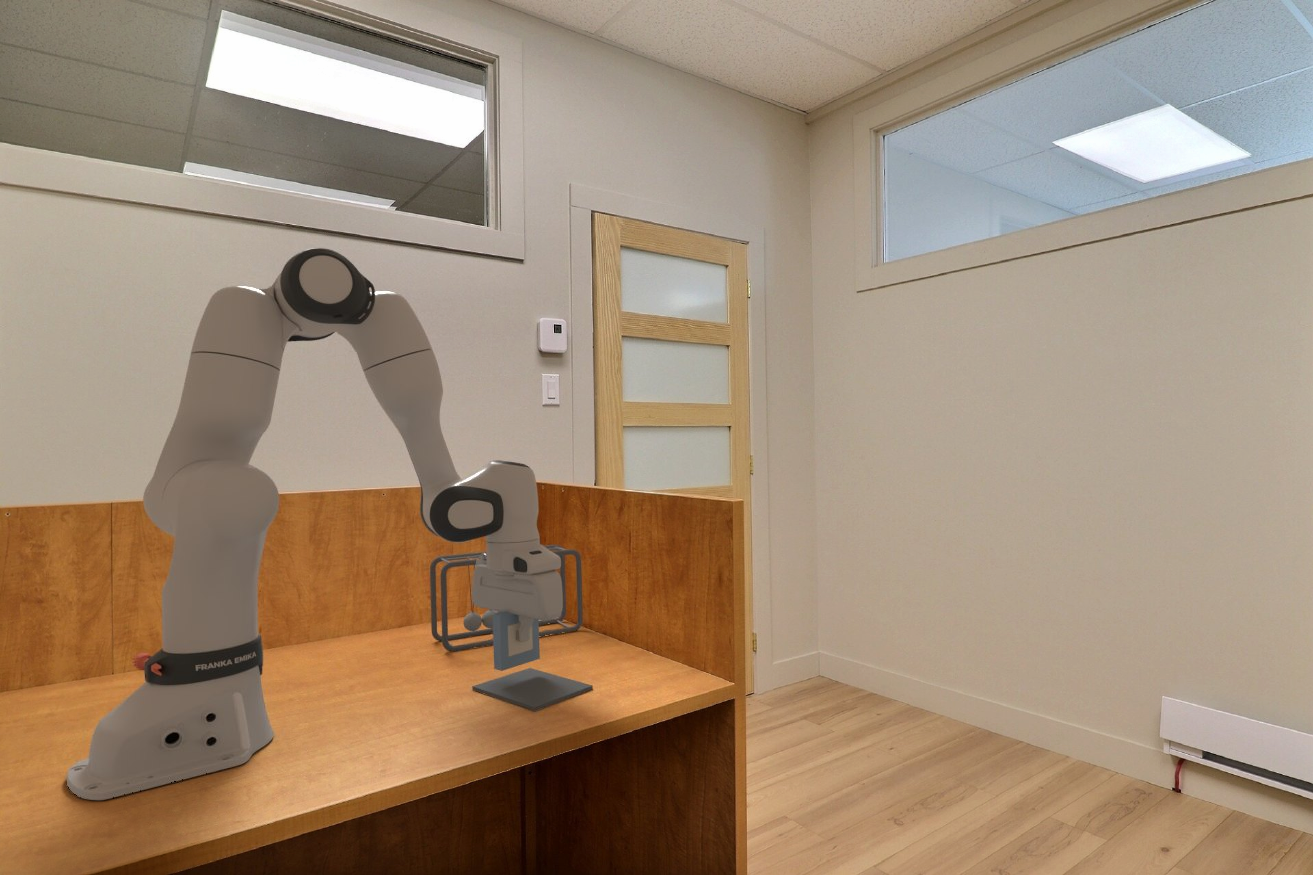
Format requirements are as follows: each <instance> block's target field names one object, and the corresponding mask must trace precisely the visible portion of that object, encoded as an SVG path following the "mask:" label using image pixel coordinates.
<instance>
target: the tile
mask: <svg viewBox="0 0 1313 875" xmlns="http://www.w3.org/2000/svg"><path fill="white" fill-rule="evenodd" d="M492 619H493V633H492V640H493V645H492V646H493V669H494V670H495V671H496V670H497V671H501V672H503V671H506V670H509V669H512V668H515V667H518V666H521V665H522V666H523V665H525V664H527V663H530V662H534V661H537V660H540V659H541V656H540V655H541V654H540V653H541V652H540V651H541V650H540V648H541V647H540V637H539V632H540V626H539V621H540V620H538V619H534V621H533V624H532V626H531V628H530V630H529V633H530V639H529V640H528V641H526V642H520V641H517V640H516V631H517V630H519V628H520V624H521V622H519V615H514V614H511V613H508V612H504V611H503V612H499V613H495V614H492Z"/></svg>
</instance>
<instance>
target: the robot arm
mask: <svg viewBox="0 0 1313 875" xmlns="http://www.w3.org/2000/svg"><path fill="white" fill-rule="evenodd" d="M335 333H336V334H338V335H339V336H341V337H342V338H344V339H345V341H347V342H348V343H349V344H350V345H351V346H352V348H353V350H354V352H355V353H356V355H357V358H358V361H359V363H360V367H361V369H362V371H363V374H364V376H365V379H366V381H367V383H368V385H369V388H370V390H371V391H372V393H373V395H374V397H375V398H376V401H377V402H378V403H379V406H381V408H382V410H383V411H384V412H385V414H386V416H387V417H388V419H389V420H390V421H391V422H392V424H393V426H394V427H395V428H396V429H397V432H398V433H399V434H400V436H401V438H402V440H403V441H404V444H405V447H406V449H407V452H408V455H409V458H410V460H411V462H412V464H413V465H412V466H413V468H414V471H415V472H416V476H417V479H418V481H419V486H420V491H421V492H420V503H419V511H420V512H419V513H420V518H421V521H422V524H423V525H424V527H425V528H426V529H427V530H428V531H429V532H430V533H431V534H433V535H435V536H437V537H439V538H441V539H442V540H445V541H447V542H450V543H456V544H458V543H460V544H462V543H467V542H470V541H472V540H476V539H481V538H483V537H485V541H486V542H485V543H486V544H485V546H486V549H485V552H486V553H483V554H481V555H480V556H479V557H478V558H476V559H477V560H476V565H475V569H474V568H473V573H472V584H471V600H472V604H473V603H474V607H477V608H482V609H487V610H494V611H496V612H497V613H499V612H503V611H504V612H508V613H511V614H514V615H519V622H521V624H520V628H519V630H517V631H516V640H517V641H520V642H526V641H528V640H529V639H530V633H529V630H530V628H531V626H532V624H533V621H534V619H538V620H539V621H542V620H543V621H546V620H550V619H555V618H558V617H560V615H561V612H562V609H563V593H562V581H561V577H560V572H559V571H557V570H560V567H561V558H560V556H558V555H557V554H555V553H553V552H551V551H552V550H548V549H547V548H545V547H544V546H545V545H543V544H541V542H540V533H539V530H538V526H537V525H538V524H537V522H538V517H539V511H540V510H539V495H538V487H537V486H538V485H537V480H536V474H535V473H534V470H533V469H532V468H531V467H530V466H528V465H527V464H524V463H520V462H517V461H516V462H515V461H514V462H513V461H510V460H509V461H507V460H501V459H500V460H498V459H497V460H496V459H495V460H491V461H488V463H487V464H486V465H484V466H483V467H482V468H480V469H478V470H476V471H475V472H473V473H472V474H470V475H468V476H466V477H464V478H461V477H460V475H459V474H458V472H457V471H456V468H455V465H454V463H453V459H452V458H451V453H450V451H449V449H448V446H447V443H446V441H445V438H444V435H443V431H442V425H441V421H440V420H441V418H440V417H441V415H440V414H441V406H442V401H443V395H444V388H443V381H442V377H441V371H440V368H439V367H440V366H439V364H438V361H437V358H436V355H435V352H434V350H433V347H432V345H431V342H430V340H429V338H428V336H427V333H426V331H425V330H424V327H423V325H422V323H421V322H420V320H419V317H418V316H417V314H416V313H415V311H414V309H413V307H412V306H411V305H410V303H409V302H408V300H407V299H406V298H405V297H403V296H402V295H401V294H399V293H398V292H393V291H387V290H383V291H379V290H378V291H376V290H375V286H374V284H373V283H372V282H371V281H370V280H368V278H366V277H365V276H364V275H363V274H362V273H361V272H360V271H359V269H358V268H357V267H356V266H355V265H354V263H352V262H351V261H350V260H349V258H347V257H346V256H344V255H342V254H341V253H339V252H338V251H335V250H332V249H330V248H325V247H324V248H323V247H315V248H307V249H305V250H302V251H301V252H298V253H297V254H295V255H293V256H292V257H291V258H289V260H287V262H286V263H285V264H284V266H283V268H282V270H281V271H280V273H279V275H277V277H276V279H275V281H274V282H273V283H272V285H271V286H269V287H266V288H259V289H258V288H255V287H251V286H245V285H231V286H225V287H223V288H220V289H218V290H217V291H216V292H214V293H213V294H212V295H211V297H210V299H209V301H208V303H207V305H206V307H205V309H204V311H203V314H202V316H201V319H200V321H199V324H198V327H197V329H196V332H195V336H194V339H193V342H192V347H191V351H190V356H189V360H188V365H187V370H186V374H185V379H184V383H183V388H182V392H181V397H180V403H179V404H178V410H177V412H176V415H175V418H174V420H173V424H172V427H171V428H170V431H169V433H168V436H167V438H166V440H165V443H164V444H163V448H162V451H161V453H160V455H159V458H158V461H157V464H156V466H155V470H154V473H153V476H152V477H151V479H150V481H149V482H148V484H147V485H146V486H145V489H144V492H143V497H142V504H143V508H144V511H145V513H146V515H147V517H148V518H149V520H150V521H151V522H152V523H153V524H154V525H155V526H156V528H158V529H159V530H160V531H162V532H164V533H165V534H168V535H170V536H173V537H174V539H173V540H174V541H173V542H174V543H173V550H172V555H171V561H170V564H169V570H168V574H167V578H166V580H165V582H164V584H163V587H162V589H161V624H162V625H161V633H162V637H161V638H162V647H161V649H160V650H158V651H157V652H156V653H154V654H153V655H151V654H149V653H147V652H140V653H138V654H136V655H135V657H133V659H132V664H133V666H134V667H135V669H138V670H140V671H144V674H143V675H144V681H145V682H144V683H142V685H140V686H139V687H138V688H137V689H136V690H135V691H133V692H132V693H130V695H129V696H127V697H126V698H125V699H124V700H122V702H120V703H119V704H117V705H116V706H115V707H114V708H113V709H111V710H110V711H109V712H108V713H107V714H105V715H104V716H103V717H102V718H101V719H100V720H99V721H98V723H97V725H96V727H95V728H94V731H93V734H92V737H91V741H90V745H89V751H88V757H87V758H83V759H82V760H78V761H77V762H75V763H74V764H72V766H70V767H69V769H68V770H67V772H66V779H65V782H66V781H67V785H66V787H67V786H68V787H69V789H70V790H71V791H72V792H73V793H74V794H76V795H77V796H76V795H75V796H76V797H79V798H80V797H81V799H85V800H91V801H104V800H110V799H113V797H114V798H117V797H121V796H125V795H129V794H133V793H137V792H140V790H141V791H144V790H149V789H152V788H156V787H160V786H163V785H168V784H171V782H172V783H175V782H174V781H176V782H179V781H182V779H183V780H187V779H191V778H195V777H199V776H203V775H206V773H207V774H209V773H211V774H212V773H214V772H218V771H222V770H225V769H229V768H233V767H238V766H240V765H243V764H245V763H246V762H248V761H249V760H250V758H251V757H252V755H253V754H254V753H255V752H257V751H258V750H260V749H261V748H263V747H265V746H266V745H268V744H269V743H270V741H272V739H273V738H274V737H275V734H274V730H273V728H272V725H271V723H270V718H269V716H268V712H267V708H266V703H265V699H264V693H263V692H264V691H263V685H262V675H263V667H264V647H263V646H264V645H263V643H262V642H263V641H262V636H261V635H260V634H259V619H258V618H259V612H258V611H259V610H258V609H259V608H258V607H259V606H258V604H259V603H258V602H259V601H258V596H259V595H258V594H259V593H258V590H259V589H258V586H259V584H258V583H259V574H260V568H261V564H262V559H263V554H264V548H265V542H266V539H267V534H268V530H269V527H270V526H271V524H272V523H273V522H274V520H275V518H276V517H277V513H278V511H279V508H280V494H279V490H278V487H277V485H276V483H275V481H274V480H273V479H272V478H271V477H270V476H269V475H268V474H267V473H266V472H264V471H263V470H260V468H258V467H255V466H254V465H251V464H250V461H251V459H252V457H253V455H254V452H255V450H256V448H257V447H258V446H257V445H258V443H259V442H260V440H261V438H262V437H263V435H264V434H265V432H266V431H267V430H268V428H269V426H270V424H271V422H272V421H271V420H272V415H273V412H274V404H275V399H276V394H277V389H278V384H279V378H280V373H281V368H282V363H283V362H282V361H283V356H284V353H285V352H284V351H285V348H286V346H287V344H288V343H289V342H313V341H319V340H323V339H326V338H328V337H330V336H332V335H333V334H335ZM68 787H67V788H68ZM69 789H68V790H69ZM70 790H69V791H70ZM71 791H70V792H71ZM72 792H71V793H72ZM132 792H133V793H132ZM73 793H72V794H73ZM74 794H73V795H74ZM124 794H125V795H124Z"/></svg>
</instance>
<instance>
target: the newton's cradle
mask: <svg viewBox="0 0 1313 875" xmlns="http://www.w3.org/2000/svg"><path fill="white" fill-rule="evenodd" d="M543 546H544V547H545V548H547V549H548V550H550V551H551V552H553V553H555V554H557V555H558V556H559V557H560V558H561V567H560V568H559V574H560V577H561V581H562V593H563V609H562V612H561V614H560V616H559V617H557V618H554V619H550V620H546V621H543V620H539V627H541V626H540V625H542V626H545V625H544V624H548V623H555V624H560V625H562V626H564V627H561V628H555V629H550V630H549V629H548V630H543V631H539V636H545V635H550V634H557V635H559V634H558V633H562V632H569V633H572V632H571V631H574V632H576V631H575V630H577V631H578V630H579V629H581V628H582V626H583V622H584V612H583V611H584V610H583V576H582V575H583V574H582V573H583V572H582V557H581V554H580V552H579V551H578V550H576V549H572V548H571V549H566V548H563V547H562V546H561V545H558V544H549V545H543ZM483 553H486V551H480V552H470V553H459V554H458V553H457V554H450V555H449V554H448V555H440V556H437V557H435V558H433V560H432V561H431V562H430V566H429V581H430V584H429V585H430V621H431V622H430V624H431V625H430V626H431V635H432V637H433V639H435V641H437V642H442V646H443V647H444V649H445V650H446V651H448V652H451V653H453V652H458V651H459V650H461V651H465V650H464V649H467V650H471V649H470V648H473V649H475V648H474V647H479V648H483V647H482V646H485V647H488V646H487V645H491V646H493V639H488V640H481V641H475V642H469V643H463V644H457V645H453V644H452V643H450V642H449V641H452V640H453V639H454V640H460V639H465V638H466V637H467V638H470V637H469V636H473V637H477V635H479V636H482V635H481V634H486V635H490V634H489V633H492V634H493V619H492V614H495V613H497V611H495V610H490V609H487V610H486V611H485V612H484V613H483V614H482V615H481V614H480V613H477V612H474V611H473V609H474V607H475V605H474V603H473V600H472V599H470V607H471V611H470V612H469V613H468V614H466V615H465V616H464V618H463V623H462V624H463V626H464V628H465V629H466V630H467V632H466V631H465V632H458V633H454V634H453V633H452V634H449V626H448V625H449V622H448V620H449V619H448V617H449V616H448V590H447V589H448V586H447V584H448V582H447V573H448V571H449V570H450V569H451V568H457V567H459V568H460V567H467V568H468V571H470V566H473V570H474V569H475V567H476V560H477V559H478V557H479V556H480V555H481V554H483ZM567 555H573V556H574V557H575V565H576V566H575V567H576V568H575V570H576V572H575V574H576V575H575V576H576V603H577V605H576V606H577V608H576V609H577V622H576V624H575V625H573V626H570V625H569V624H568V625H567V624H566V623H564V622H563V621H564V620H565V618H566V615H567V594H566V593H567V591H566V590H567V589H566V588H567V587H566V556H567ZM441 562H445V564H444V565H443V566H442V568H441V570H440V606H441V608H440V609H441V611H440V612H441V634H439V632H438V614H437V613H438V609H437V608H438V606H437V576H436V575H437V573H436V568H437V565H438V564H439V563H441ZM468 579H469V580H468V581H469V582H468V584H471V577H470V572H468ZM469 594H470V595H469V596H470V598H472V585H469ZM557 622H558V623H557ZM482 625H483V626H484V627H485V628H486V629H480V628H481V626H482ZM545 637H546V636H545ZM467 638H466V639H467ZM459 652H460V651H459Z"/></svg>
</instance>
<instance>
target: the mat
mask: <svg viewBox="0 0 1313 875" xmlns="http://www.w3.org/2000/svg"><path fill="white" fill-rule="evenodd" d="M471 688H472V691H474V690H475V692H477V691H479V692H478V693H479V694H483V693H485V694H484V695H486V694H487V696H489V695H490V696H489V697H492V698H494V697H496V698H495V699H497V698H498V700H500V699H501V701H503V702H506V701H507V703H508V704H509V703H510V704H513V705H516V706H518V707H520V708H521V707H522V708H524V709H526V710H529V711H533V712H536V711H539V710H541V709H544V708H547V707H549V706H552V705H554V704H558V703H560V702H563V701H565V700H568V699H571V698H573V697H576V696H579V695H581V694H584V693H586V692H589V691H592V690H593V688H594V686H593V685H591V684H588V683H586V682H581V681H577V680H574V679H572V678H568V677H564V676H561V675H560V676H559V675H556V674H553V673H551V672H550V673H549V672H546V671H543V670H538V669H535V668H532V667H528V668H525V669H522V670H519V671H516V672H512V673H509V674H507V675H504V676H500V677H497V678H494V679H491V680H487V681H485V682H481V683H479V684H475V685H472V687H471Z"/></svg>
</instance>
